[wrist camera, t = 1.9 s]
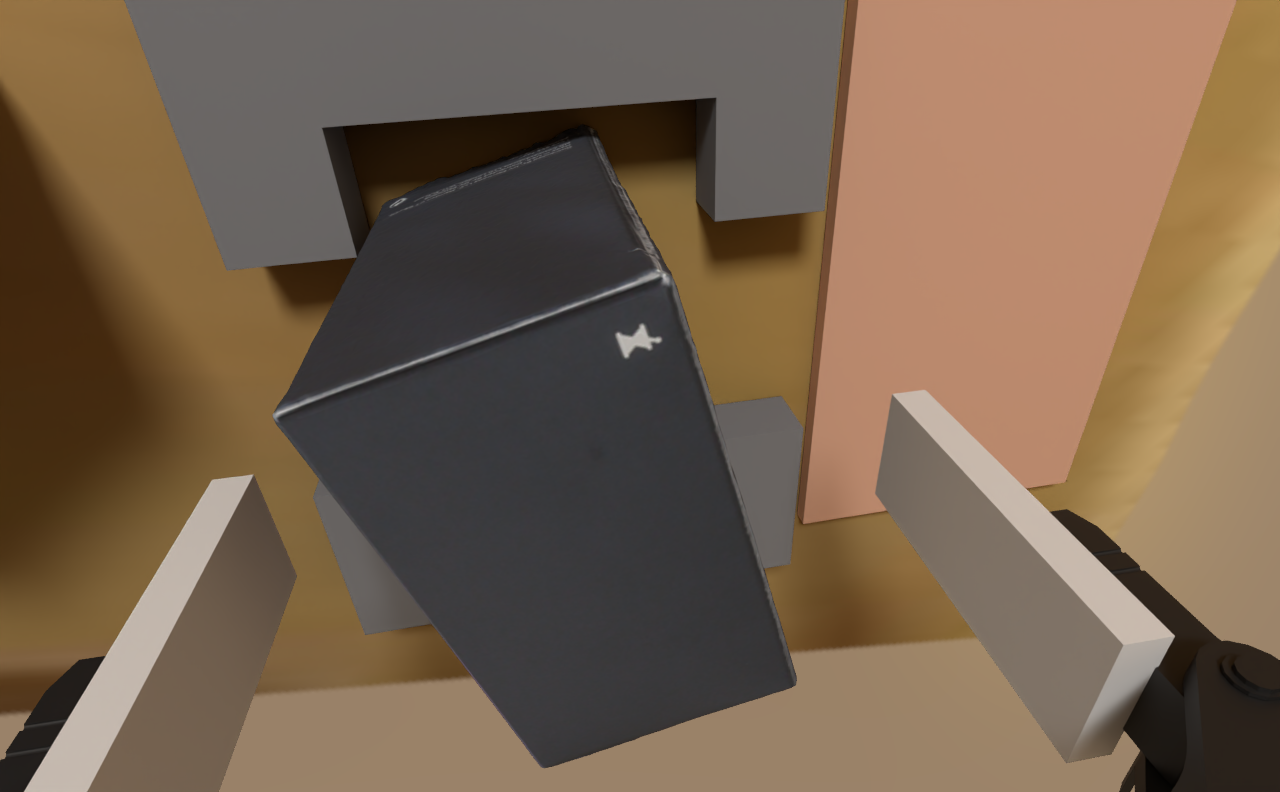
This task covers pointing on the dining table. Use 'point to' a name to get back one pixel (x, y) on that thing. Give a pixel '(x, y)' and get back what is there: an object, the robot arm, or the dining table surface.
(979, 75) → the terracotta tile
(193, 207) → the dining table surface
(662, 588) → the small box
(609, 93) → the pocket insert
